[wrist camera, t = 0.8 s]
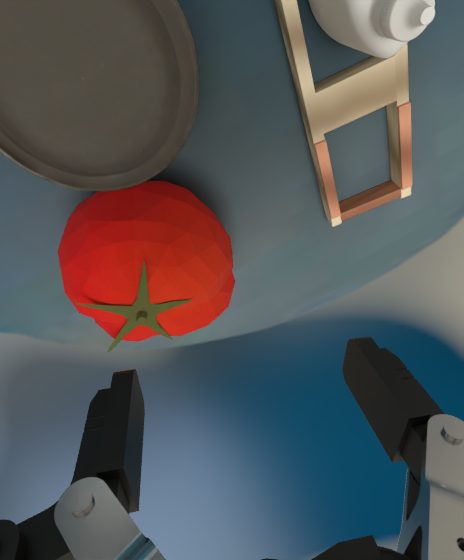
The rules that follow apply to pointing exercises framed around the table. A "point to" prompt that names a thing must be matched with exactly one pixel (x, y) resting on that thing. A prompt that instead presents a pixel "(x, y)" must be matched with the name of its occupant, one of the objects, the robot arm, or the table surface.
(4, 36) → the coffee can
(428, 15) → the eye dropper bottle
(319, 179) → the rail
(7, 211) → the table surface
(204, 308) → the tomato
